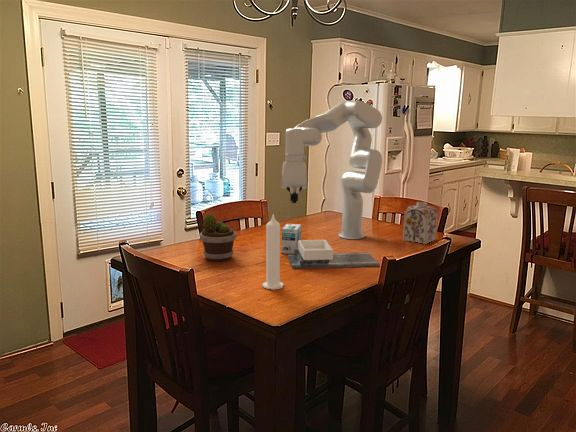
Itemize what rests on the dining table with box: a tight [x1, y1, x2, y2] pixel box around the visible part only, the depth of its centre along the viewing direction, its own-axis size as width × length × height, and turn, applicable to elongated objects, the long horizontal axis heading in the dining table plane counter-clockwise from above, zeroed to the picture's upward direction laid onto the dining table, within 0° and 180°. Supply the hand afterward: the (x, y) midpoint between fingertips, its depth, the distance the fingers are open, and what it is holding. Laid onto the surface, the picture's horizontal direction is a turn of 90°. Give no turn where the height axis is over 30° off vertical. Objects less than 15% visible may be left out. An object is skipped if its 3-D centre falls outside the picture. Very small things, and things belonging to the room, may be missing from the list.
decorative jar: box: [402, 201, 438, 245], centre depth 225 cm, size 12×12×18 cm
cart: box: [298, 239, 334, 264], centre depth 191 cm, size 15×11×6 cm
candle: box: [262, 213, 284, 291], centre depth 162 cm, size 7×7×25 cm
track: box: [286, 250, 380, 270], centre depth 192 cm, size 16×34×3 cm, turn 97°
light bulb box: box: [281, 223, 302, 255], centre depth 206 cm, size 11×7×11 cm, turn 168°
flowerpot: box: [199, 210, 238, 262], centre depth 194 cm, size 14×15×20 cm
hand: (294, 202), depth 202 cm, fingers closed
